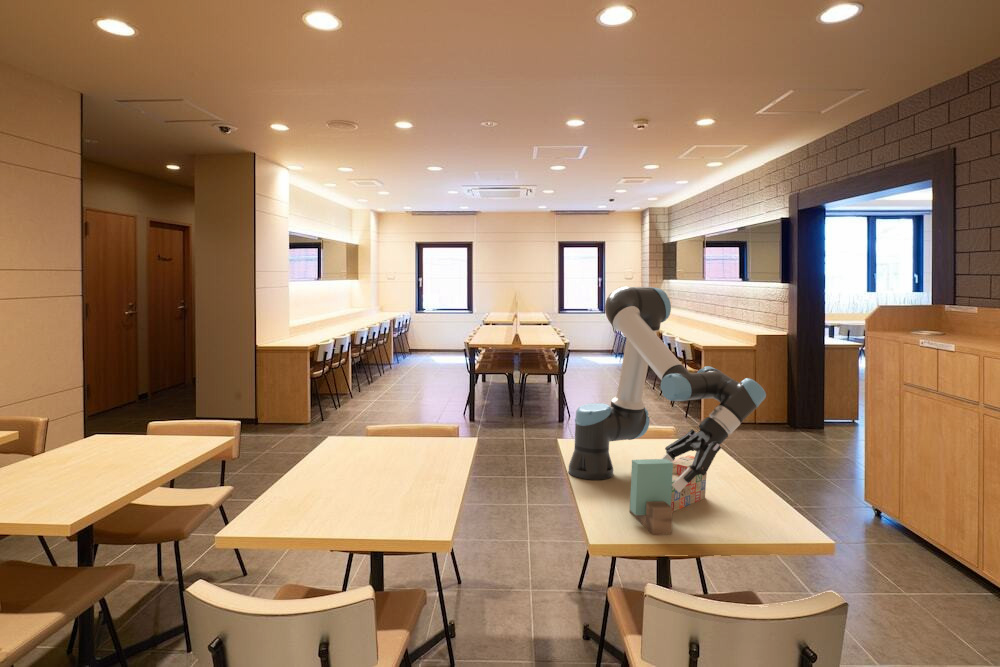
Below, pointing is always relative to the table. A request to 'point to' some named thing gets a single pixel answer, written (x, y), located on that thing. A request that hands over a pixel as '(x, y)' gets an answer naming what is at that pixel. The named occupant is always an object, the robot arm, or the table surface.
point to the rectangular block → (650, 483)
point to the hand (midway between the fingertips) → (664, 480)
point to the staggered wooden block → (656, 517)
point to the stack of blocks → (692, 489)
